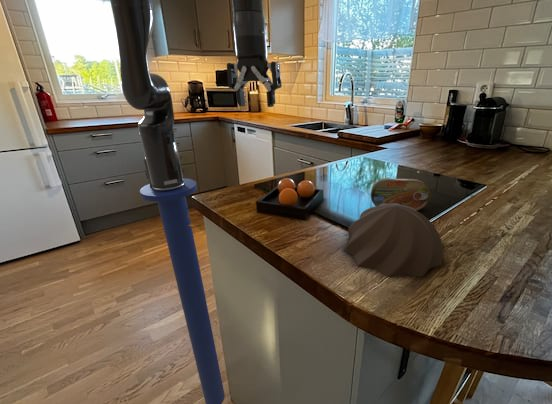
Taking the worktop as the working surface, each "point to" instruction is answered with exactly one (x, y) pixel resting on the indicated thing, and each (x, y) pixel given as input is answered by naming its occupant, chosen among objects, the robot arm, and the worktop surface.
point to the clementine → (288, 197)
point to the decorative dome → (395, 241)
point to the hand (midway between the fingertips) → (256, 106)
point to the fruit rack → (301, 210)
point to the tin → (400, 192)
